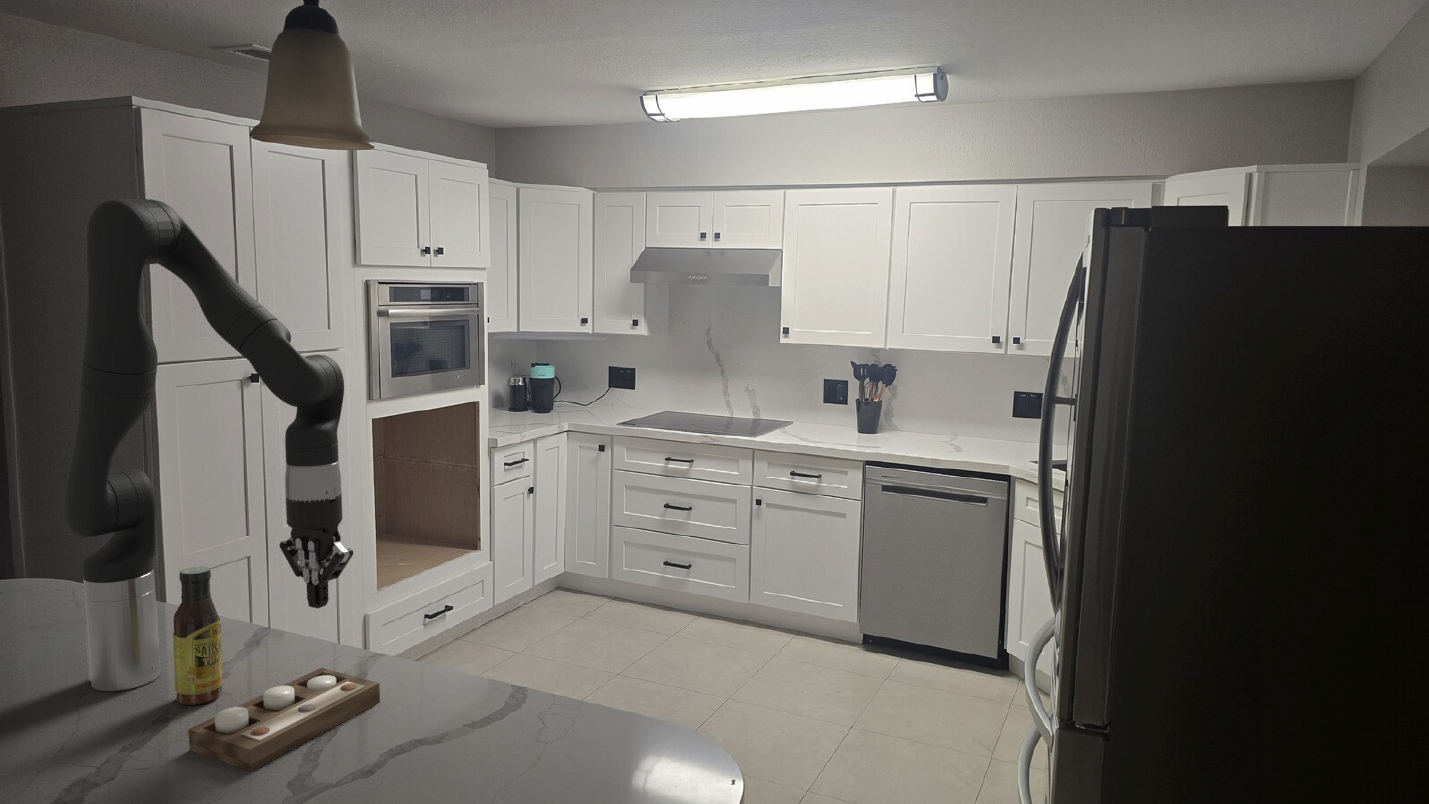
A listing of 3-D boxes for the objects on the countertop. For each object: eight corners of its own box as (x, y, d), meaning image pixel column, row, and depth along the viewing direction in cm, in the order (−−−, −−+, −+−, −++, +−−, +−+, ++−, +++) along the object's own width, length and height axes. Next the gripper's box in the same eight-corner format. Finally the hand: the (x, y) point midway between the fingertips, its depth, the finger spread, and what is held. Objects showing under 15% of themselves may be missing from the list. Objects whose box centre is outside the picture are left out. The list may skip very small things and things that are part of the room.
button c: (208, 730, 123) (208, 716, 123) (235, 718, 127) (234, 704, 127) (229, 737, 122) (228, 723, 121) (255, 724, 125) (254, 710, 125)
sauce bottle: (202, 709, 135) (194, 579, 132) (165, 704, 136) (157, 575, 133) (234, 690, 141) (227, 565, 138) (198, 686, 142) (191, 562, 140)
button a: (301, 696, 137) (301, 683, 137) (323, 685, 140) (322, 673, 140) (321, 701, 135) (320, 688, 135) (342, 690, 139) (341, 678, 139)
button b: (257, 707, 130) (256, 694, 130) (281, 696, 134) (280, 683, 133) (277, 713, 128) (276, 700, 128) (301, 702, 132) (300, 688, 132)
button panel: (189, 750, 123) (188, 726, 123) (322, 685, 143) (321, 665, 142) (251, 771, 118) (250, 746, 118) (379, 701, 138) (379, 680, 137)
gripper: (259, 492, 133) (265, 606, 136) (326, 503, 128) (330, 622, 130) (302, 482, 140) (306, 591, 142) (367, 492, 134) (370, 605, 137)
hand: (318, 606), depth 136 cm, fingers closed
